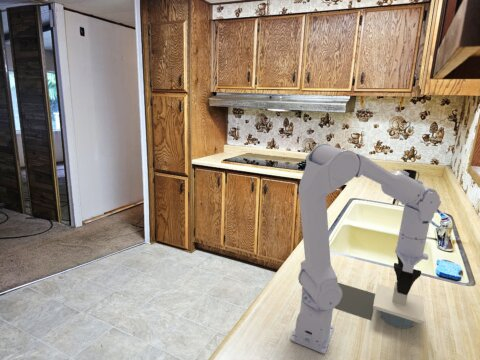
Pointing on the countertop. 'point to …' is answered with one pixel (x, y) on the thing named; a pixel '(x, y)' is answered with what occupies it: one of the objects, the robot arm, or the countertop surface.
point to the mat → (356, 301)
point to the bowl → (396, 320)
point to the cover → (399, 303)
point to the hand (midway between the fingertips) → (402, 285)
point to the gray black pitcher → (412, 173)
